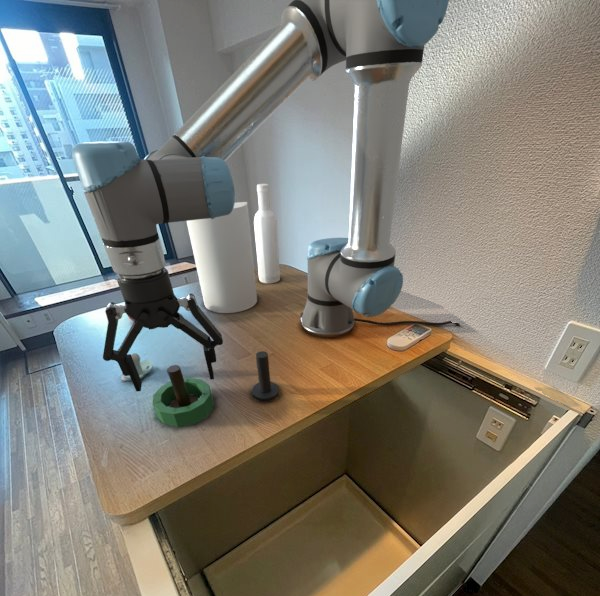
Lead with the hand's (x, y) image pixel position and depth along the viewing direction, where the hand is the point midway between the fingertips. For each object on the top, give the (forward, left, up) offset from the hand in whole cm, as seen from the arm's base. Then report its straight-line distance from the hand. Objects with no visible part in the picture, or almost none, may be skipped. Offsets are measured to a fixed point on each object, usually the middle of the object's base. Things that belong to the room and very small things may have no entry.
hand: (176, 381), depth 64 cm
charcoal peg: (-17, 0, -7) cm, 19 cm away
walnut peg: (0, 0, -7) cm, 7 cm away
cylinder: (-15, -50, -7) cm, 53 cm away
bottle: (-31, -65, -7) cm, 73 cm away
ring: (0, 0, -7) cm, 7 cm away
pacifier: (+11, -15, -7) cm, 20 cm away
